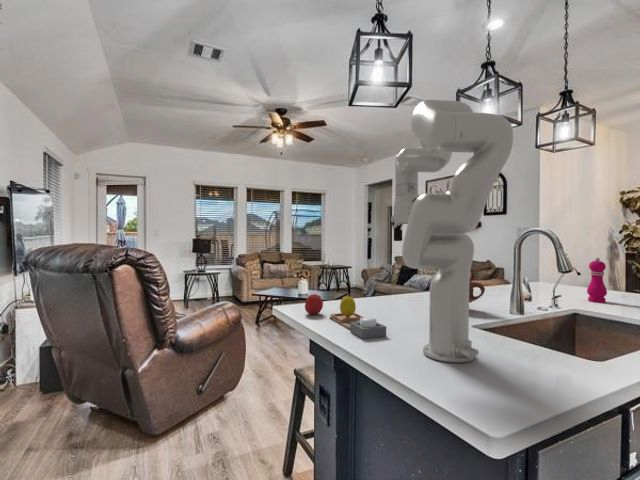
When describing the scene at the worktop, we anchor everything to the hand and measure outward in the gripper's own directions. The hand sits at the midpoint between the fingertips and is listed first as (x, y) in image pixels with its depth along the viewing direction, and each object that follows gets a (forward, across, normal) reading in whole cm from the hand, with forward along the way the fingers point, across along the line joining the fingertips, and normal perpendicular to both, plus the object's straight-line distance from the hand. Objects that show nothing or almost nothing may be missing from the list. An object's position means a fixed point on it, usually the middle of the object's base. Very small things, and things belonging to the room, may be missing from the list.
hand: (406, 241), depth 124 cm
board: (+28, +8, +16) cm, 33 cm away
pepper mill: (+28, +2, -104) cm, 108 cm away
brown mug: (+28, +12, -34) cm, 46 cm away
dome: (+28, -6, +18) cm, 34 cm away
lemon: (+28, +12, +16) cm, 34 cm away
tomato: (+28, +26, +24) cm, 45 cm away
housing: (+28, -6, +18) cm, 34 cm away
